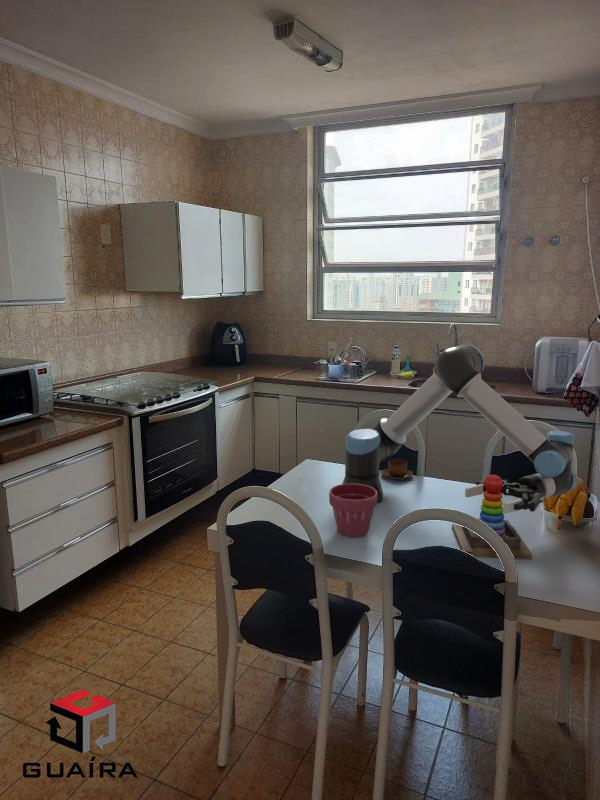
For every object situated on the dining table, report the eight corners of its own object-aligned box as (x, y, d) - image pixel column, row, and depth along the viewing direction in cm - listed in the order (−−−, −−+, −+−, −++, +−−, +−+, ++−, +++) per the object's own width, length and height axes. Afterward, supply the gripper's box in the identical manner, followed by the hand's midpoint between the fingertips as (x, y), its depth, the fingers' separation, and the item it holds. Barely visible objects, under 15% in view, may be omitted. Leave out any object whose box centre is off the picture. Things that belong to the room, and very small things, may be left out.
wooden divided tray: (463, 556, 150) (464, 540, 149) (451, 528, 168) (452, 514, 167) (531, 559, 148) (533, 543, 147) (513, 531, 166) (514, 517, 165)
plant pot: (320, 534, 163) (320, 493, 161) (342, 518, 175) (342, 479, 173) (364, 546, 156) (365, 503, 153) (384, 528, 168) (385, 488, 165)
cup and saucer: (386, 470, 223) (387, 455, 222) (416, 474, 218) (416, 459, 217) (377, 479, 212) (378, 463, 211) (408, 483, 207) (409, 468, 206)
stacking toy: (506, 535, 159) (511, 473, 156) (504, 546, 152) (509, 482, 149) (478, 530, 163) (482, 469, 159) (474, 541, 155) (478, 478, 152)
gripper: (572, 513, 154) (520, 529, 144) (500, 486, 175) (451, 498, 165) (574, 488, 153) (523, 502, 142) (502, 464, 174) (452, 474, 164)
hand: (484, 500), depth 154 cm, fingers open, 13 cm apart
